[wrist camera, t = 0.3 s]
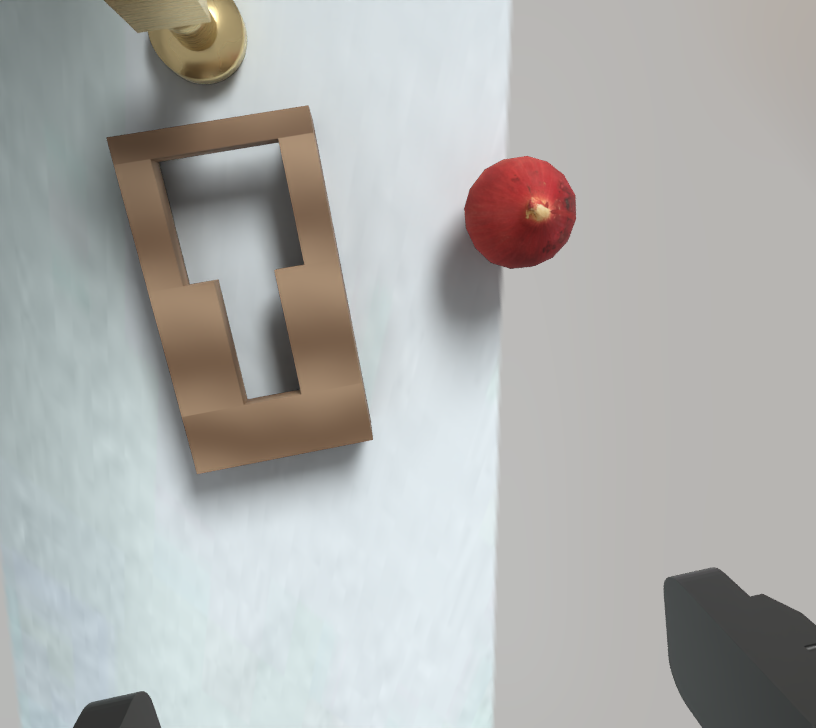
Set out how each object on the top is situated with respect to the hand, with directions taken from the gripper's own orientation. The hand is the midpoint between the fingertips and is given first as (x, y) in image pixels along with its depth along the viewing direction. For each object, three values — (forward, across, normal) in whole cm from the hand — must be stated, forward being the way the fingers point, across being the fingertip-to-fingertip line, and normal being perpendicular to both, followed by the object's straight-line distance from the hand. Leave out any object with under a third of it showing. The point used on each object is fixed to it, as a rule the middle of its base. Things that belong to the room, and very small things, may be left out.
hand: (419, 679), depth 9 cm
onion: (+28, -9, -6) cm, 30 cm away
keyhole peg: (+28, +6, -18) cm, 34 cm away
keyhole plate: (+28, +6, -4) cm, 29 cm away
